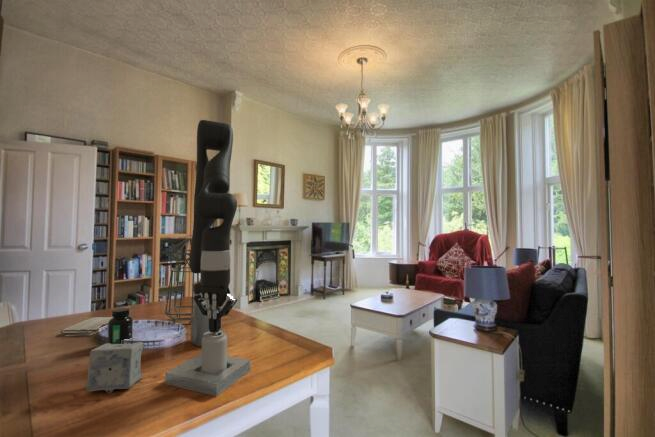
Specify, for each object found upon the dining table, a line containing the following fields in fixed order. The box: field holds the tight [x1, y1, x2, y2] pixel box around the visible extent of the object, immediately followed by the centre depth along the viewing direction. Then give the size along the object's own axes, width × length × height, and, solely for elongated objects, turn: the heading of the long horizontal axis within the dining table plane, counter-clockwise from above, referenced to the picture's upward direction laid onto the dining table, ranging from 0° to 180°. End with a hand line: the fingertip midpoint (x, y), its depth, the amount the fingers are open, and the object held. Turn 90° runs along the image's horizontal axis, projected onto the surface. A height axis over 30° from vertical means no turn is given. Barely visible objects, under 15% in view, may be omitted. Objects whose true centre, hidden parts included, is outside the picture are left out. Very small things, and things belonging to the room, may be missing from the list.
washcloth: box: [60, 316, 113, 337], centre depth 122 cm, size 12×18×3 cm, turn 3°
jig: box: [165, 352, 251, 397], centre depth 85 cm, size 16×14×3 cm
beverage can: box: [201, 330, 228, 376], centre depth 84 cm, size 6×6×12 cm
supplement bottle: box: [107, 307, 134, 344], centre depth 106 cm, size 7×7×12 cm
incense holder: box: [85, 341, 144, 394], centre depth 80 cm, size 10×8×10 cm
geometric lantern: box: [163, 237, 200, 326], centre depth 132 cm, size 16×16×35 cm
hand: (214, 331), depth 84 cm, fingers closed
